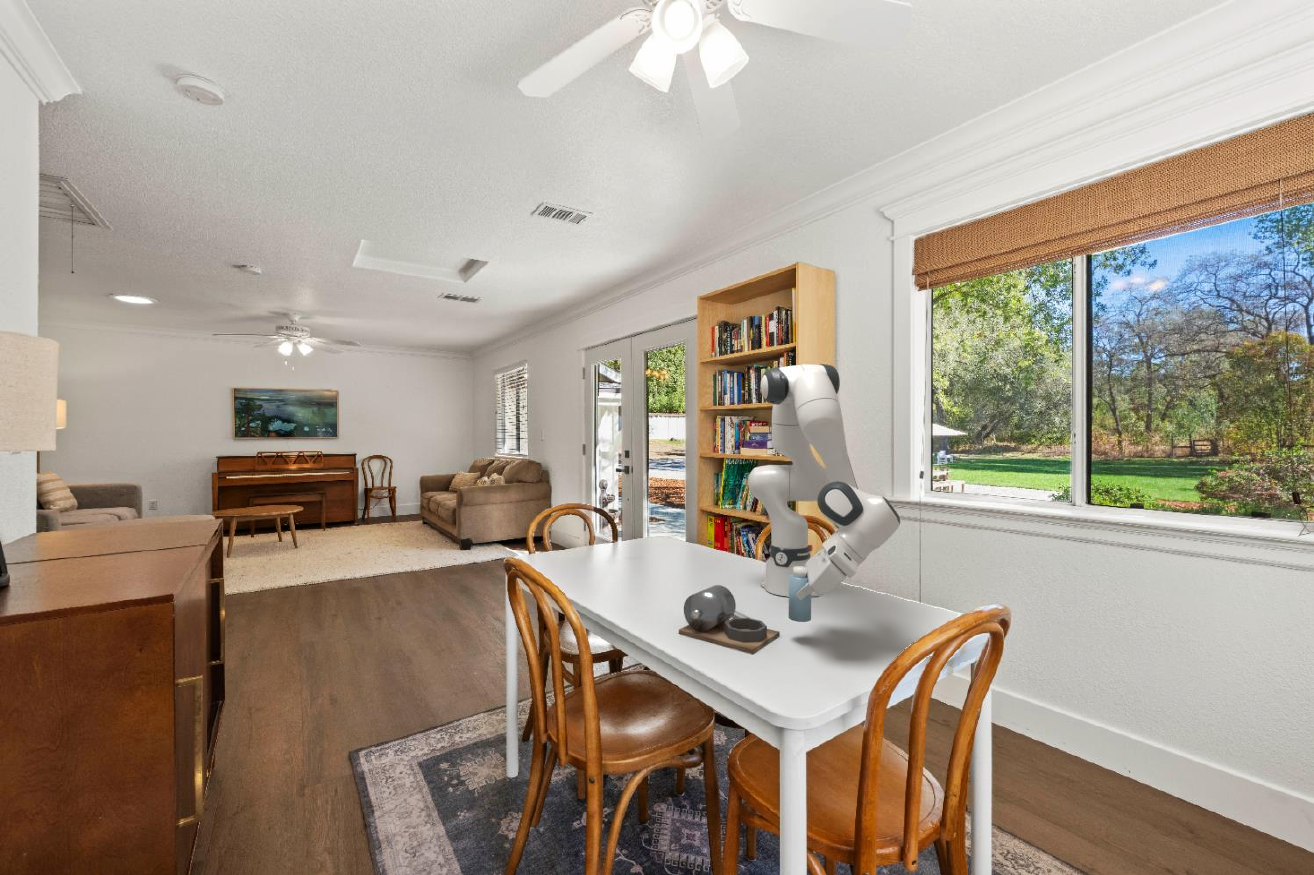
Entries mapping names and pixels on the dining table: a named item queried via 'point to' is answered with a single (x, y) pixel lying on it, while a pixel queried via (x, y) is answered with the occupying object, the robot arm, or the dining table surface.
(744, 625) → the collar
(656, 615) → the dining table surface
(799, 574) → the blue plastic bottle
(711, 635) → the base plate
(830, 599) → the dining table surface
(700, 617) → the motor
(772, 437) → the robot arm
